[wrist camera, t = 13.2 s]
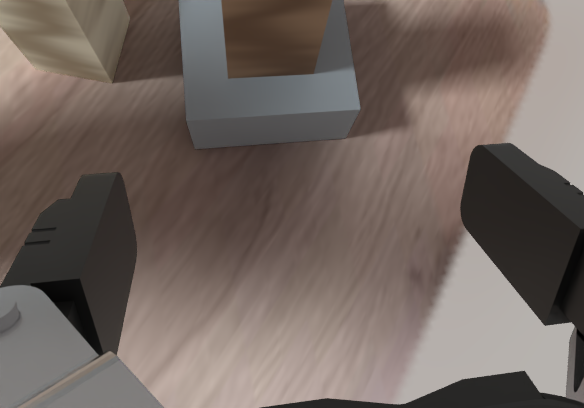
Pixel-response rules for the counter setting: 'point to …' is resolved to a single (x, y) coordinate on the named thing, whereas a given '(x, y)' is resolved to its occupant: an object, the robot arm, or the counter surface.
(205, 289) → the counter surface
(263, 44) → the walnut block
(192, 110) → the base block
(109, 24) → the birch block
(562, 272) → the robot arm
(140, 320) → the counter surface
